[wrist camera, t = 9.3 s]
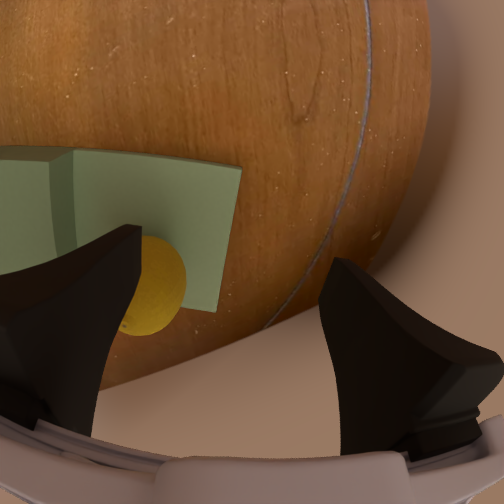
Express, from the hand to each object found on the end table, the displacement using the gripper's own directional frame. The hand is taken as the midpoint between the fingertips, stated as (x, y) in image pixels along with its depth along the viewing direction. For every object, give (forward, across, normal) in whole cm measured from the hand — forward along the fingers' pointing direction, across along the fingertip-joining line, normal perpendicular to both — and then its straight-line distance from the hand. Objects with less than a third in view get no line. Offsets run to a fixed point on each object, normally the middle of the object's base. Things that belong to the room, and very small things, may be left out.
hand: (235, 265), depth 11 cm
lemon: (+10, +5, +6) cm, 13 cm away
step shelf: (+10, +20, +5) cm, 23 cm away
